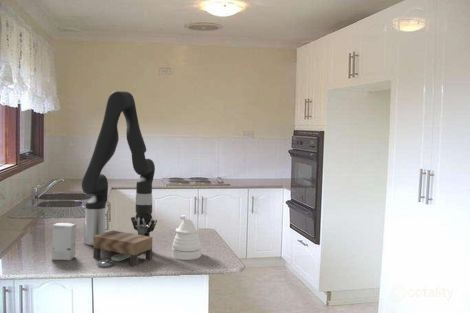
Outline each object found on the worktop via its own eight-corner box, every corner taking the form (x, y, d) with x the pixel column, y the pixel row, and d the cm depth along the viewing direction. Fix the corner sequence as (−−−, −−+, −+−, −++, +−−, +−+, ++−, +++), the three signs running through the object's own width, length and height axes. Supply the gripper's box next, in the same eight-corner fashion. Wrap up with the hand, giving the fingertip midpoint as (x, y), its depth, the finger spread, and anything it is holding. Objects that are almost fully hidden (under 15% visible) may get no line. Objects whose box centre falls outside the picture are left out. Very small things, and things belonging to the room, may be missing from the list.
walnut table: (93, 257, 200) (93, 236, 199) (112, 251, 211) (112, 230, 210) (134, 266, 190) (134, 243, 190) (152, 258, 201) (152, 237, 200)
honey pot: (174, 260, 199) (175, 219, 198) (170, 252, 212) (170, 213, 210) (203, 258, 203) (204, 218, 202) (197, 250, 215) (198, 212, 214)
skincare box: (51, 260, 195) (51, 225, 194) (57, 255, 202) (56, 222, 200) (71, 260, 195) (71, 225, 194) (76, 256, 201) (76, 222, 200)
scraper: (142, 247, 216) (142, 226, 215) (149, 249, 214) (149, 227, 213) (111, 259, 198) (111, 236, 197) (118, 261, 196) (118, 237, 195)
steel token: (94, 266, 189) (94, 262, 189) (104, 262, 195) (104, 258, 195) (105, 268, 187) (105, 265, 187) (115, 264, 192) (115, 261, 192)
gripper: (126, 202, 211) (126, 239, 213) (151, 205, 205) (150, 244, 206) (137, 200, 218) (136, 236, 219) (161, 203, 212) (160, 240, 213)
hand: (143, 239), depth 213 cm, fingers closed on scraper, 3 cm apart
